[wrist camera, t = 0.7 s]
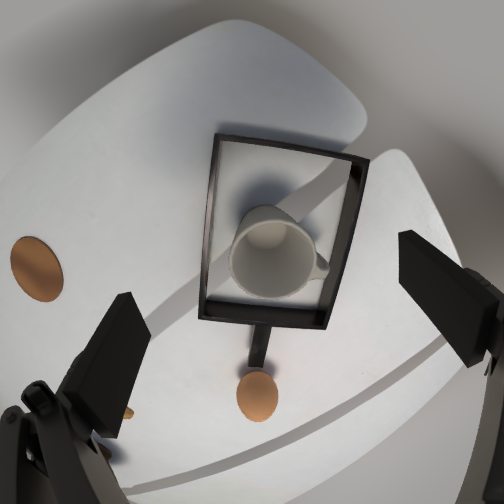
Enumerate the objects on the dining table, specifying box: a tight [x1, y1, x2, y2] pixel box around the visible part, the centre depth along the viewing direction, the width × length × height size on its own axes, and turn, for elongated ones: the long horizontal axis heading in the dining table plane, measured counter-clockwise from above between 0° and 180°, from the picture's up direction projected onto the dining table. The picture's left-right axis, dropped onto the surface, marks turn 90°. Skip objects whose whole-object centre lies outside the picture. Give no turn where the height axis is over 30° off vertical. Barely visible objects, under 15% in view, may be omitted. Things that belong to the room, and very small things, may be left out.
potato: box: [123, 408, 134, 419], centre depth 45 cm, size 3×4×2 cm
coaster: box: [10, 237, 63, 302], centre depth 34 cm, size 10×10×1 cm
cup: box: [229, 205, 330, 300], centre depth 30 cm, size 8×10×8 cm
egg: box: [237, 371, 278, 422], centre depth 39 cm, size 6×6×8 cm
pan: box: [198, 133, 370, 368], centre depth 34 cm, size 27×15×4 cm, turn 172°
